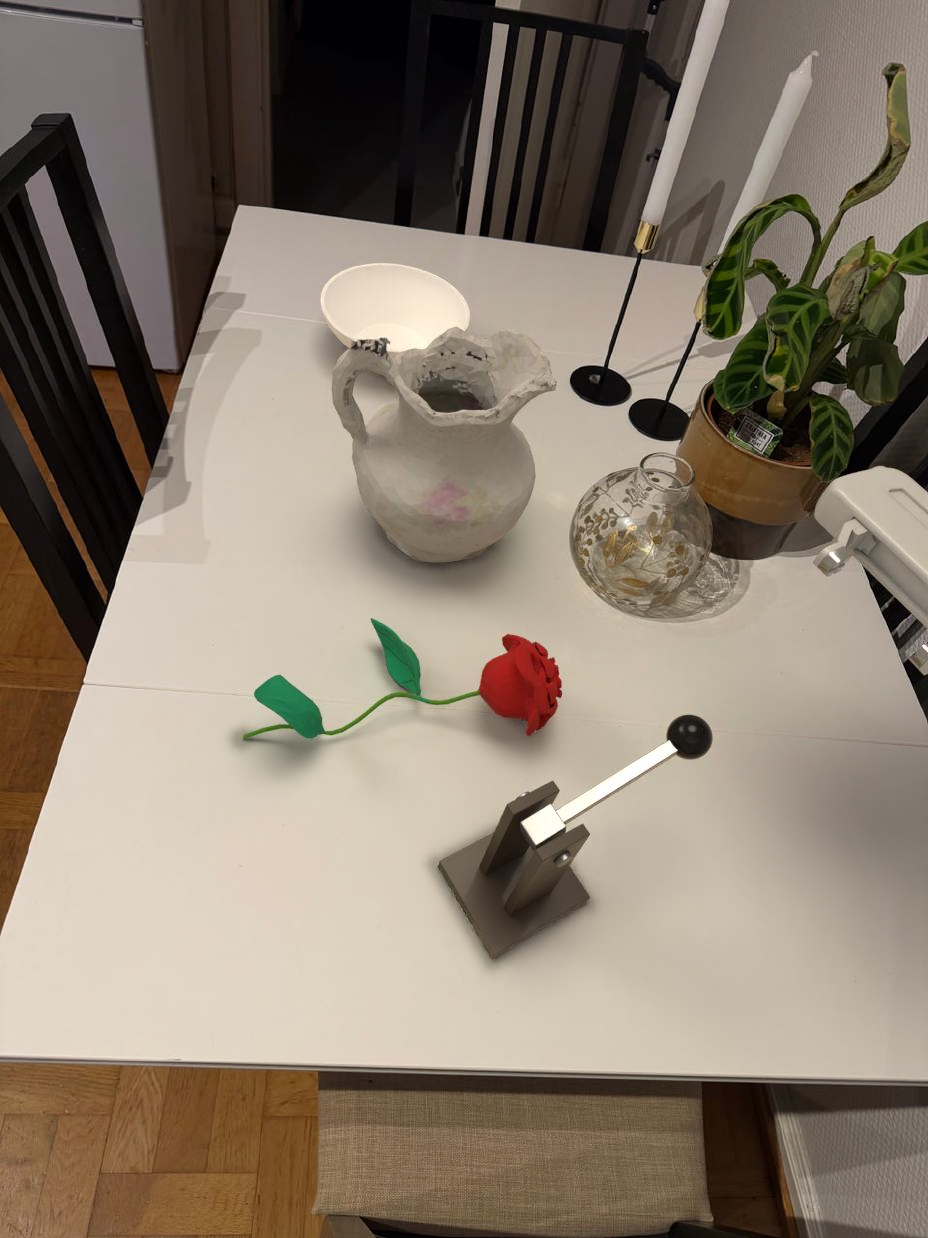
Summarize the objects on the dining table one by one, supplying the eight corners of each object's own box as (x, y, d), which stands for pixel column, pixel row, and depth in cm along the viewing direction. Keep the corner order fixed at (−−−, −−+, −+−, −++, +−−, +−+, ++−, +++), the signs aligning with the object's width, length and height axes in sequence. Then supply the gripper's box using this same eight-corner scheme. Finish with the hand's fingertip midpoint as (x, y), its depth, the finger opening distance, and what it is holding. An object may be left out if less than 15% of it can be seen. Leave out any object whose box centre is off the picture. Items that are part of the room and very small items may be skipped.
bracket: (530, 816, 80) (567, 744, 69) (586, 902, 76) (635, 840, 65) (437, 866, 76) (461, 798, 65) (492, 959, 72) (527, 903, 61)
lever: (689, 717, 72) (696, 699, 69) (717, 751, 71) (726, 735, 68) (515, 825, 69) (514, 811, 66) (540, 864, 67) (541, 852, 64)
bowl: (358, 410, 110) (361, 365, 105) (295, 320, 119) (295, 275, 114) (488, 378, 118) (497, 335, 113) (420, 296, 127) (426, 253, 122)
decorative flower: (249, 636, 87) (244, 574, 80) (535, 639, 93) (556, 580, 85) (241, 761, 79) (235, 705, 71) (556, 756, 84) (582, 703, 77)
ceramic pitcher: (351, 608, 93) (373, 445, 72) (310, 470, 102) (319, 291, 81) (535, 577, 100) (604, 419, 79) (481, 450, 109) (530, 280, 88)
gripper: (909, 433, 69) (789, 480, 63) (1131, 622, 60) (1014, 698, 54) (868, 489, 74) (753, 538, 68) (1067, 672, 65) (954, 747, 59)
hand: (870, 611), depth 61 cm, fingers open, 8 cm apart
